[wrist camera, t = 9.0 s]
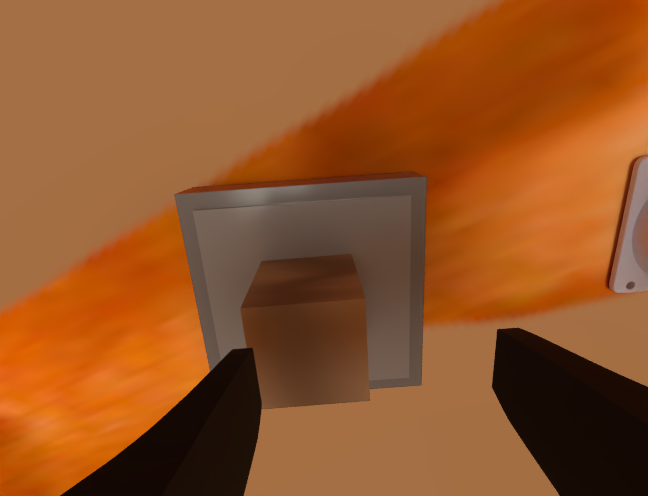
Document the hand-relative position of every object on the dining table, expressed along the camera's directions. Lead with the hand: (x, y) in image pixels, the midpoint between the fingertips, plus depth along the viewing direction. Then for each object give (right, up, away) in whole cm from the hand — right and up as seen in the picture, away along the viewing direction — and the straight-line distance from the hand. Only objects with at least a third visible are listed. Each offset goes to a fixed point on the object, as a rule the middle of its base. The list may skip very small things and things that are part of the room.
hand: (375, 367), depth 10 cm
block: (-2, +1, +8) cm, 8 cm away
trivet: (-2, +2, +10) cm, 11 cm away
